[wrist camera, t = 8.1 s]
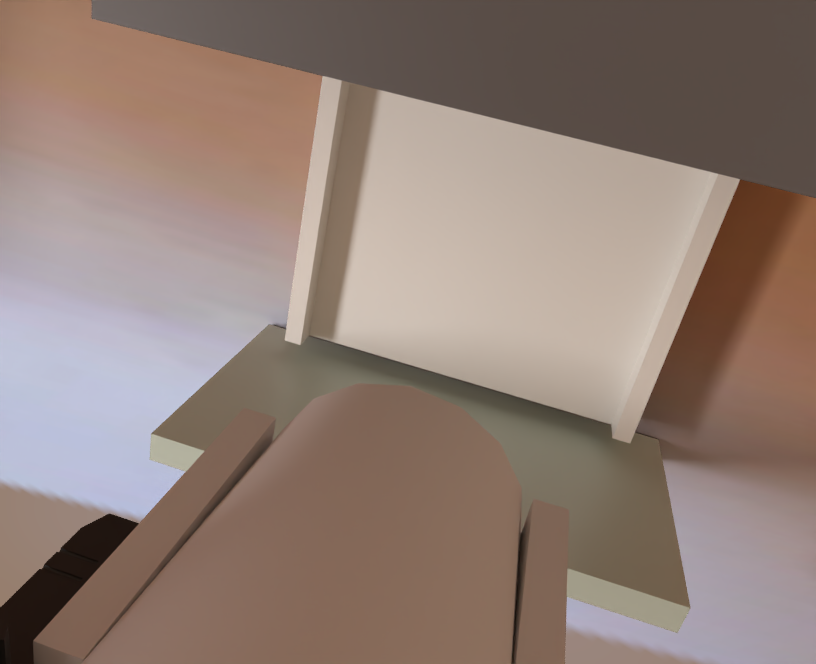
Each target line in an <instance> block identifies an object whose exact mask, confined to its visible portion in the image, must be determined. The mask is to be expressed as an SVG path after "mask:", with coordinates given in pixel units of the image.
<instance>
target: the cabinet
mask: <svg viewBox="0 0 816 664" xmlns="http://www.w3.org/2000/svg"><path fill="white" fill-rule="evenodd" d="M92 19H96V20H100V21H104V22H108V23H112V24H116V25H120V26H124V27H128V28H132V29H136V30H140V31H144V32H148V33H152V34H156V35H160V36H164V37H168V38H172V39H176V40H180V41H184V42H188V43H192V44H196V45H200V46H204V47H208V48H213V49H217V50H221V51H225V52H229V53H233V54H237V55H241V56H245V57H249V58H253V59H257V60H261V61H265V62H269V63H273V64H277V65H281V66H285V67H289V68H293V69H297V70H301V71H305V72H309V73H313V74H317V75H321V76H325V77H329V78H334V79H338V80H342V81H346V82H350V83H354V84H358V85H362V86H366V87H370V88H374V89H378V90H382V91H386V92H390V93H394V94H398V95H402V96H406V97H410V98H414V99H418V100H422V101H426V102H430V103H434V104H438V105H442V106H446V107H450V108H454V109H459V110H463V111H467V112H471V113H475V114H479V115H483V116H487V117H491V118H495V119H499V120H503V121H507V122H511V123H515V124H519V125H523V126H527V127H531V128H535V129H539V130H543V131H547V132H551V133H555V134H559V135H563V136H567V137H571V138H575V139H580V140H584V141H588V142H592V143H596V144H600V145H604V146H608V147H612V148H616V149H620V150H624V151H628V152H632V153H636V154H640V155H644V156H648V157H652V158H656V159H660V160H664V161H668V162H672V163H676V164H680V165H684V166H688V167H692V168H696V169H700V170H705V171H709V172H713V173H717V174H721V175H725V176H729V177H733V178H737V179H741V180H745V181H749V182H753V183H757V184H761V185H765V186H769V187H773V188H777V189H781V190H785V191H789V192H793V193H797V194H801V195H805V196H809V197H813V198H816V0H92Z"/></svg>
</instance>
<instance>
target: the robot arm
mask: <svg viewBox="0 0 816 664" xmlns="http://www.w3.org/2000/svg"><path fill="white" fill-rule="evenodd" d="M275 421H276V418H275V417H272V416H269V415H266V414H262V413H259V412H256V411H253V410H250V409H246V408H243V409H242V410H241V411H240V413H239V414H238V415H237V416H236V417H235V418H234V419H233V420H232V421H231V423H230V424H229V425H228V426H227V427H226V428H225V429H224V430H223V431H222V432H221V434H220V435H219V436H218V437H217V438H216V439H215V440H214V441H213V442H212V444H211V445H210V446H209V447H208V448H207V449H206V450H205V451H204V452H203V453H202V455H201V456H200V457H199V458H198V459H197V460H196V461H195V462H194V463H193V465H192V466H191V467H190V468H189V469H188V470H187V471H186V472H185V473H184V474H183V476H182V477H181V478H180V479H179V480H178V481H177V482H176V483H175V484H174V486H173V487H172V488H171V489H170V490H169V491H168V492H167V493H166V494H165V496H164V497H163V498H162V499H161V500H160V501H159V502H158V503H157V504H156V505H155V507H154V508H153V509H152V510H151V511H150V512H149V513H148V514H147V515H146V517H145V518H144V519H143V520H142V521H141V522H140V523H136V522H133V521H130V520H127V519H124V518H121V517H118V516H115V515H112V514H107V515H105V516H104V517H102V518H100V519H98V520H96V521H94V522H92V523H90V524H88V525H86V526H84V527H82V528H81V529H80V530H79V531H78V532H77V533H76V534H75V535H74V536H73V537H72V538H71V539H70V540H69V541H68V542H67V543H65V544H64V546H62V547H61V550H60V552H56V554H54V555H53V557H51V558H50V559H49V560H48V561H47V562H46V563H45V565H44V567H43V568H42V569H39V570H38V571H37V572H36V573H35V574H34V575H33V576H32V577H31V578H30V579H29V580H28V581H27V582H26V583H25V584H24V585H23V586H22V587H21V588H20V589H19V590H18V591H17V592H16V593H15V594H14V595H13V596H12V597H11V598H10V599H9V600H8V601H7V602H6V603H5V604H4V605H3V606H2V607H0V664H81V663H82V662H83V661H84V660H85V659H86V658H87V656H88V655H89V654H90V653H91V652H92V651H93V649H94V648H95V647H96V646H97V645H98V644H99V642H100V641H101V640H102V639H103V638H104V637H105V635H106V634H107V633H108V632H109V631H110V630H111V628H112V627H113V626H114V625H115V624H116V623H117V621H118V620H119V619H120V618H121V617H122V616H123V614H124V613H125V612H126V611H127V610H128V609H129V607H130V606H131V605H132V604H133V603H134V602H135V600H136V599H137V598H138V597H139V596H140V595H141V593H142V592H143V591H144V590H145V589H146V588H147V586H148V585H149V584H150V583H151V582H152V581H153V580H154V578H155V577H156V576H157V575H158V574H159V573H160V571H161V570H162V569H163V568H164V567H165V566H166V564H167V563H168V562H169V561H170V560H171V559H172V557H173V556H174V555H175V554H176V553H177V552H178V550H179V549H180V548H181V547H182V546H183V545H184V543H185V542H186V541H187V540H188V539H189V538H190V536H191V535H192V534H193V533H194V532H195V531H196V529H197V528H198V527H199V526H200V525H201V524H202V522H203V521H204V520H205V519H206V518H207V517H208V515H209V514H210V513H211V512H212V511H213V510H214V508H215V507H216V506H217V505H218V504H219V503H220V501H221V500H222V499H223V498H224V497H225V496H226V495H227V493H228V492H229V491H230V490H231V489H232V488H233V487H234V485H235V484H236V483H237V482H238V481H239V480H240V479H241V477H242V476H243V475H244V474H245V473H246V472H247V470H248V469H249V468H250V467H251V466H252V465H253V464H254V462H255V461H256V460H257V459H258V458H259V457H260V456H261V454H262V453H263V452H264V451H265V450H266V449H267V448H268V446H269V445H270V444H271V443H272V442H273V435H274V428H275ZM568 531H569V509H566V508H563V507H559V506H556V505H553V504H550V503H547V502H543V501H540V500H537V499H534V498H533V501H532V504H531V507H530V509H529V512H528V515H527V518H526V521H525V523H524V526H523V529H522V532H521V535H520V550H519V564H518V579H517V594H516V609H515V624H514V638H513V653H512V664H565V637H566V602H567V567H568Z"/></svg>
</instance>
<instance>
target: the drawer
mask: <svg viewBox="0 0 816 664" xmlns="http://www.w3.org/2000/svg"><path fill="white" fill-rule="evenodd" d="M739 181H740V179H737V178H733V177H729V176H725V175H721V174H717V173H713V172H709V171H705V170H700V169H696V168H692V167H688V166H684V165H680V164H676V163H672V162H668V161H664V160H660V159H656V158H652V157H648V156H644V155H640V154H636V153H632V152H628V151H624V150H620V149H616V148H612V147H608V146H604V145H600V144H596V143H592V142H588V141H584V140H580V139H575V138H571V137H567V136H563V135H559V134H555V133H551V132H547V131H543V130H539V129H535V128H531V127H527V126H523V125H519V124H515V123H511V122H507V121H503V120H499V119H495V118H491V117H487V116H483V115H479V114H475V113H471V112H467V111H463V110H459V109H454V108H450V107H446V106H442V105H438V104H434V103H430V102H426V101H422V100H418V99H414V98H410V97H406V96H402V95H398V94H394V93H390V92H386V91H382V90H378V89H374V88H370V87H366V86H362V85H358V84H354V83H350V82H346V81H342V80H338V79H334V78H329V77H325V76H323V77H322V84H321V91H320V98H319V105H318V112H317V119H316V126H315V133H314V140H313V147H312V154H311V161H310V167H309V174H308V181H307V188H306V195H305V202H304V209H303V216H302V223H301V230H300V237H299V244H298V250H297V257H296V264H295V271H294V278H293V285H292V292H291V299H290V306H289V313H288V320H287V327H286V329H283V328H280V327H277V326H273V325H270V324H269V325H268V326H267V327H266V328H265V329H264V330H262V331H261V332H260V333H259V334H258V335H257V336H256V337H255V338H254V339H253V340H252V341H251V342H250V343H248V344H247V345H246V346H245V347H244V348H243V349H242V350H241V351H240V352H239V353H238V354H237V355H236V356H234V357H233V358H232V359H231V360H230V361H229V362H228V363H227V364H226V365H225V366H224V367H223V368H221V369H220V370H219V371H218V372H217V373H216V374H215V375H214V376H213V377H212V378H211V379H210V380H209V381H207V382H206V383H205V384H204V385H203V386H202V387H201V388H200V389H199V390H198V391H197V392H196V393H195V394H193V395H192V396H191V397H190V398H189V399H188V400H187V401H186V402H185V403H184V404H183V405H182V406H181V407H179V408H178V409H177V410H176V411H175V412H174V413H173V414H172V415H171V416H170V417H169V418H168V419H166V420H165V421H164V422H163V423H162V424H161V425H160V426H159V427H158V428H157V429H156V430H155V431H154V432H152V433H151V446H150V460H152V461H156V462H159V463H162V464H165V465H168V466H171V467H174V468H177V469H180V470H183V471H187V470H188V469H189V468H190V467H191V466H192V465H193V463H194V462H195V461H196V460H197V459H198V458H199V457H200V456H201V455H202V453H203V452H204V451H205V450H206V449H207V448H208V447H209V446H210V445H211V444H212V442H213V441H214V440H215V439H216V438H217V437H218V436H219V435H220V434H221V432H222V431H223V430H224V429H225V428H226V427H227V426H228V425H229V424H230V423H231V421H232V420H233V419H234V418H235V417H236V416H237V415H238V414H239V413H240V411H241V410H242V409H243V408H246V409H250V410H253V411H256V412H259V413H262V414H266V415H269V416H272V417H275V418H276V421H275V428H274V435H273V441H274V439H275V438H276V437H277V436H278V435H279V434H280V433H281V431H282V430H283V429H284V428H285V427H286V426H287V425H288V424H289V423H290V422H291V421H292V420H293V419H294V418H295V417H296V416H297V415H298V414H299V413H300V412H301V411H302V410H303V409H304V408H305V407H306V406H307V405H308V404H309V403H310V402H311V401H312V400H313V399H314V398H317V397H320V396H323V395H325V394H328V393H331V392H334V391H337V390H340V389H343V388H346V387H348V386H351V385H354V384H357V383H365V384H384V385H402V386H412V387H414V388H417V389H419V390H421V391H424V392H426V393H428V394H431V395H433V396H436V397H438V398H440V399H443V400H445V401H447V402H450V403H452V404H454V405H457V406H459V407H461V408H463V409H464V410H465V411H466V412H467V413H468V414H469V415H470V416H471V417H472V418H473V419H474V420H476V421H477V422H478V423H479V424H480V425H481V426H482V427H483V428H484V429H485V430H486V431H487V432H489V433H490V434H491V435H492V436H493V437H494V438H495V439H496V440H497V441H498V442H499V443H500V444H501V445H502V448H503V450H504V452H505V454H506V456H507V458H508V460H509V462H510V464H511V467H512V469H513V471H514V473H515V475H516V477H517V479H518V481H519V483H520V486H521V488H522V502H521V532H522V529H523V526H524V523H525V521H526V518H527V515H528V512H529V509H530V507H531V504H532V501H533V498H534V499H537V500H540V501H543V502H547V503H550V504H553V505H556V506H559V507H563V508H566V509H569V531H568V567H567V597H569V598H573V599H576V600H579V601H582V602H585V603H588V604H591V605H594V606H597V607H600V608H603V609H606V610H609V611H612V612H615V613H618V614H621V615H624V616H627V617H630V618H633V619H636V620H639V621H643V622H646V623H649V624H652V625H655V626H658V627H661V628H664V629H667V630H670V631H673V632H676V633H678V631H679V629H680V627H681V625H682V623H683V621H684V619H685V618H686V616H687V614H688V612H689V610H690V603H689V598H688V593H687V587H686V582H685V577H684V572H683V566H682V561H681V556H680V550H679V545H678V540H677V535H676V529H675V524H674V519H673V513H672V508H671V503H670V498H669V492H668V487H667V482H666V477H665V471H664V466H663V461H662V455H661V450H660V445H659V440H658V439H655V438H651V437H648V436H644V435H641V434H638V433H635V431H636V428H637V426H638V424H639V421H640V419H641V416H642V414H643V412H644V409H645V407H646V404H647V402H648V400H649V397H650V395H651V392H652V390H653V388H654V385H655V383H656V380H657V378H658V376H659V373H660V371H661V368H662V366H663V364H664V361H665V359H666V356H667V354H668V352H669V349H670V347H671V344H672V342H673V340H674V337H675V335H676V332H677V330H678V328H679V325H680V323H681V320H682V318H683V316H684V313H685V311H686V308H687V306H688V304H689V301H690V299H691V296H692V294H693V291H694V289H695V287H696V284H697V282H698V279H699V277H700V275H701V272H702V270H703V267H704V265H705V263H706V260H707V258H708V255H709V253H710V251H711V248H712V246H713V243H714V241H715V239H716V236H717V234H718V231H719V229H720V227H721V224H722V222H723V219H724V217H725V215H726V212H727V210H728V207H729V205H730V203H731V200H732V198H733V195H734V193H735V191H736V188H737V186H738V183H739ZM309 335H310V336H314V337H317V338H320V339H324V340H327V341H331V342H334V343H337V344H341V345H344V346H347V347H351V348H354V349H358V350H361V351H364V352H368V353H371V354H374V355H378V356H381V357H385V358H388V359H391V360H395V361H398V362H401V363H405V364H408V365H412V366H415V367H418V368H422V369H425V370H429V371H432V372H435V373H439V374H442V375H445V376H449V377H452V378H456V379H459V380H462V381H466V382H469V383H472V384H476V385H479V386H483V387H486V388H489V389H493V390H496V391H499V392H503V393H506V394H510V395H513V396H516V397H520V398H523V399H526V400H530V401H533V402H537V403H540V404H543V405H547V406H550V407H553V408H557V409H560V410H564V411H567V412H570V413H574V414H577V415H580V416H584V417H587V418H591V419H594V420H597V421H601V422H604V423H607V424H611V425H607V424H604V423H601V422H597V421H594V420H590V419H587V418H584V417H580V416H577V415H574V414H570V413H567V412H563V411H560V410H557V409H553V408H550V407H547V406H543V405H540V404H536V403H533V402H530V401H526V400H523V399H520V398H516V397H513V396H509V395H506V394H503V393H499V392H496V391H493V390H489V389H486V388H482V387H479V386H476V385H472V384H469V383H466V382H462V381H459V380H455V379H452V378H449V377H445V376H442V375H439V374H435V373H432V372H428V371H425V370H422V369H418V368H415V367H412V366H408V365H405V364H401V363H398V362H395V361H391V360H388V359H385V358H381V357H378V356H374V355H371V354H368V353H364V352H361V351H358V350H354V349H351V348H347V347H344V346H341V345H337V344H334V343H331V342H327V341H324V340H320V339H317V338H314V337H310V336H309Z"/></svg>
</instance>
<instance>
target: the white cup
mask: <svg viewBox="0 0 816 664" xmlns="http://www.w3.org/2000/svg"><path fill="white" fill-rule="evenodd" d="M521 502H522V488H521V486H520V483H519V481H518V479H517V477H516V475H515V473H514V471H513V469H512V467H511V464H510V462H509V460H508V458H507V456H506V454H505V452H504V450H503V448H502V445H501V444H500V443H499V442H498V441H497V440H496V439H495V438H494V437H493V436H492V435H491V434H490V433H489V432H487V431H486V430H485V429H484V428H483V427H482V426H481V425H480V424H479V423H478V422H477V421H476V420H474V419H473V418H472V417H471V416H470V415H469V414H468V413H467V412H466V411H465V410H464V409H463V408H461V407H459V406H457V405H454V404H452V403H450V402H447V401H445V400H443V399H440V398H438V397H436V396H433V395H431V394H428V393H426V392H424V391H421V390H419V389H417V388H414V387H412V386H402V385H384V384H365V383H357V384H354V385H351V386H348V387H346V388H343V389H340V390H337V391H334V392H331V393H328V394H325V395H323V396H320V397H317V398H314V399H313V400H312V401H311V402H310V403H309V404H308V405H307V406H306V407H305V408H304V409H303V410H302V411H301V412H300V413H299V414H298V415H297V416H296V417H295V418H294V419H293V420H292V421H291V422H290V423H289V424H288V425H287V426H286V427H285V428H284V429H283V430H282V431H281V433H280V434H279V435H278V436H277V437H276V438H275V439H274V441H273V442H272V443H271V444H270V445H269V446H268V448H267V449H266V450H265V451H264V452H263V453H262V454H261V456H260V457H259V458H258V459H257V460H256V461H255V462H254V464H253V465H252V466H251V467H250V468H249V469H248V470H247V472H246V473H245V474H244V475H243V476H242V477H241V479H240V480H239V481H238V482H237V483H236V484H235V485H234V487H233V488H232V489H231V490H230V491H229V492H228V493H227V495H226V496H225V497H224V498H223V499H222V500H221V501H220V503H219V504H218V505H217V506H216V507H215V508H214V510H213V511H212V512H211V513H210V514H209V515H208V517H207V518H206V519H205V520H204V521H203V522H202V524H201V525H200V526H199V527H198V528H197V529H196V531H195V532H194V533H193V534H192V535H191V536H190V538H189V539H188V540H187V541H186V542H185V543H184V545H183V546H182V547H181V548H180V549H179V550H178V552H177V553H176V554H175V555H174V556H173V557H172V559H171V560H170V561H169V562H168V563H167V564H166V566H165V567H164V568H163V569H162V570H161V571H160V573H159V574H158V575H157V576H156V577H155V578H154V580H153V581H152V582H151V583H150V584H149V585H148V586H147V588H146V589H145V590H144V591H143V592H142V593H141V595H140V596H139V597H138V598H137V599H136V600H135V602H134V603H133V604H132V605H131V606H130V607H129V609H128V610H127V611H126V612H125V613H124V614H123V616H122V617H121V618H120V619H119V620H118V621H117V623H116V624H115V625H114V626H113V627H112V628H111V630H110V631H109V632H108V633H107V634H106V635H105V637H104V638H103V639H102V640H101V641H100V642H99V644H98V645H97V646H96V647H95V648H94V649H93V651H92V652H91V653H90V654H89V655H88V656H87V658H86V659H85V660H84V661H83V662H82V663H81V664H512V653H513V638H514V624H515V609H516V594H517V579H518V564H519V550H520V535H521Z"/></svg>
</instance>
